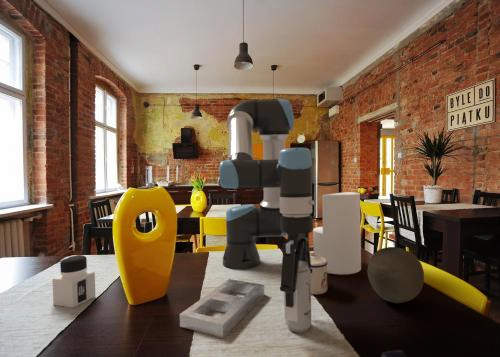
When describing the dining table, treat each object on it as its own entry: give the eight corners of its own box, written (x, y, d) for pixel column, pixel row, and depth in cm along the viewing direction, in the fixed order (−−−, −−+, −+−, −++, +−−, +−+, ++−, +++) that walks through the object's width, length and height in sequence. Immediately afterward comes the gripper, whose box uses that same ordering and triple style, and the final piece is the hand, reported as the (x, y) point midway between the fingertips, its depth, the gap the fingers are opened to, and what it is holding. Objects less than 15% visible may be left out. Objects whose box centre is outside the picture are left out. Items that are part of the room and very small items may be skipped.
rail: (229, 288, 89) (229, 279, 89) (264, 294, 84) (264, 284, 84) (179, 326, 67) (179, 314, 67) (223, 338, 62) (222, 324, 62)
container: (96, 296, 85) (94, 254, 85) (72, 308, 78) (71, 262, 78) (77, 293, 88) (75, 252, 87) (52, 305, 80) (51, 259, 80)
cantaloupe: (360, 291, 84) (359, 242, 84) (408, 291, 84) (408, 241, 83) (379, 315, 70) (378, 256, 70) (437, 316, 69) (436, 255, 69)
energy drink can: (312, 335, 63) (310, 268, 62) (285, 333, 64) (283, 267, 63) (310, 320, 69) (309, 259, 68) (285, 319, 70) (284, 259, 69)
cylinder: (369, 266, 107) (368, 192, 106) (344, 278, 95) (343, 196, 95) (330, 256, 120) (329, 191, 119) (304, 266, 109) (303, 193, 108)
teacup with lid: (328, 296, 82) (327, 256, 81) (297, 294, 84) (296, 255, 84) (327, 281, 93) (326, 246, 93) (299, 279, 95) (298, 245, 95)
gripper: (298, 223, 54) (300, 338, 54) (322, 209, 74) (323, 292, 75) (262, 221, 57) (264, 330, 57) (294, 208, 77) (296, 288, 78)
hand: (298, 308), depth 66 cm, fingers open, 10 cm apart
